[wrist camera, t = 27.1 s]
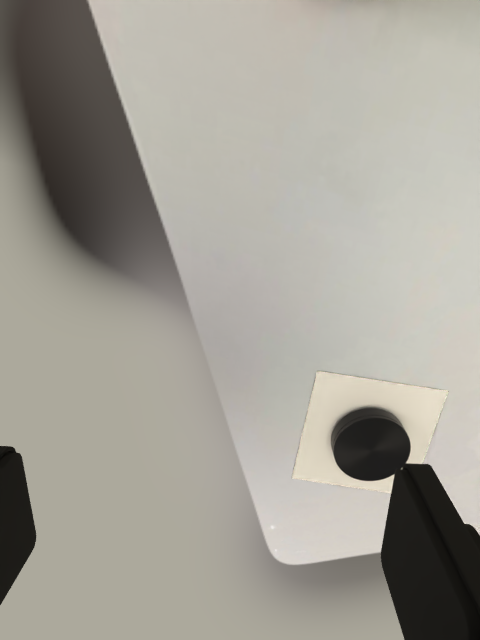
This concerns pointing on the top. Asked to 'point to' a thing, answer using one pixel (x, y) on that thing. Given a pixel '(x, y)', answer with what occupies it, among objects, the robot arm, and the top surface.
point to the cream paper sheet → (352, 394)
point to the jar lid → (370, 444)
